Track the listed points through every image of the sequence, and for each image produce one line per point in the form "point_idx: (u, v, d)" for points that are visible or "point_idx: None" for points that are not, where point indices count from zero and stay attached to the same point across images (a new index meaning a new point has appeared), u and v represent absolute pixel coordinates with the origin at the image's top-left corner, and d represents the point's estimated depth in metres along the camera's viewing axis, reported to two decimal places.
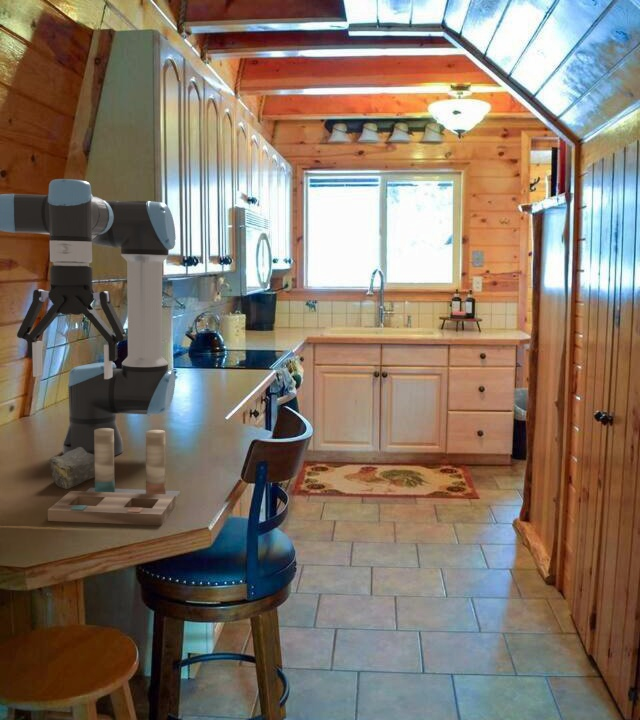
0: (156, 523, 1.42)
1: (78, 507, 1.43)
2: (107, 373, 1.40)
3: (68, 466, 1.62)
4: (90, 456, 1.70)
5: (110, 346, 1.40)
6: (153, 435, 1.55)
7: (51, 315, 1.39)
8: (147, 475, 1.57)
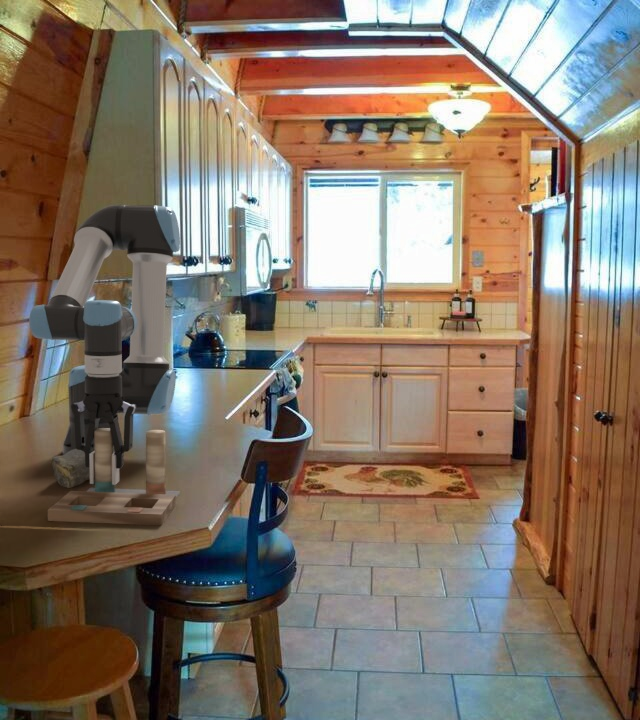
0: (156, 523, 1.42)
1: (78, 507, 1.43)
2: (114, 479, 1.57)
3: (70, 465, 1.63)
4: None
5: (117, 455, 1.57)
6: (153, 435, 1.55)
7: (94, 422, 1.56)
8: (147, 475, 1.57)
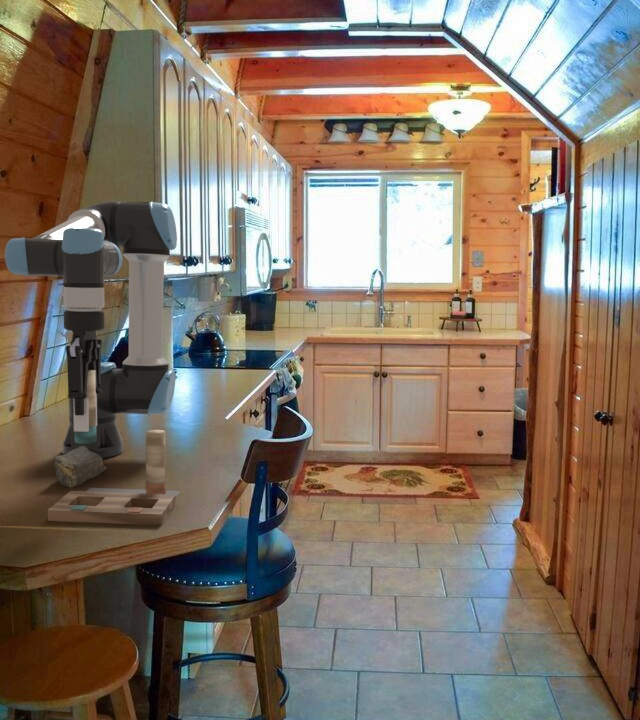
0: (156, 523, 1.42)
1: (78, 507, 1.43)
2: (74, 425, 1.43)
3: (72, 465, 1.63)
4: (93, 455, 1.71)
5: None
6: (153, 435, 1.55)
7: None
8: (147, 475, 1.57)
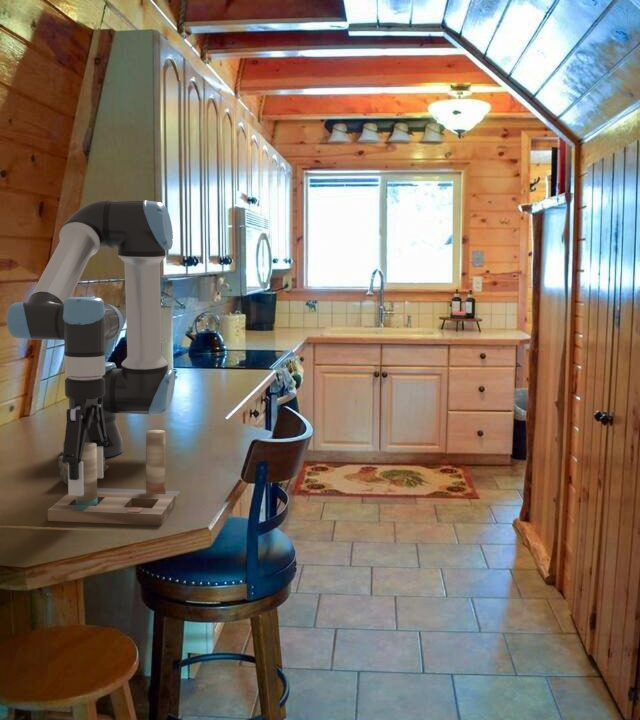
0: (156, 523, 1.42)
1: (78, 507, 1.43)
2: (68, 489, 1.42)
3: None
4: None
5: None
6: (153, 435, 1.55)
7: None
8: (147, 475, 1.57)
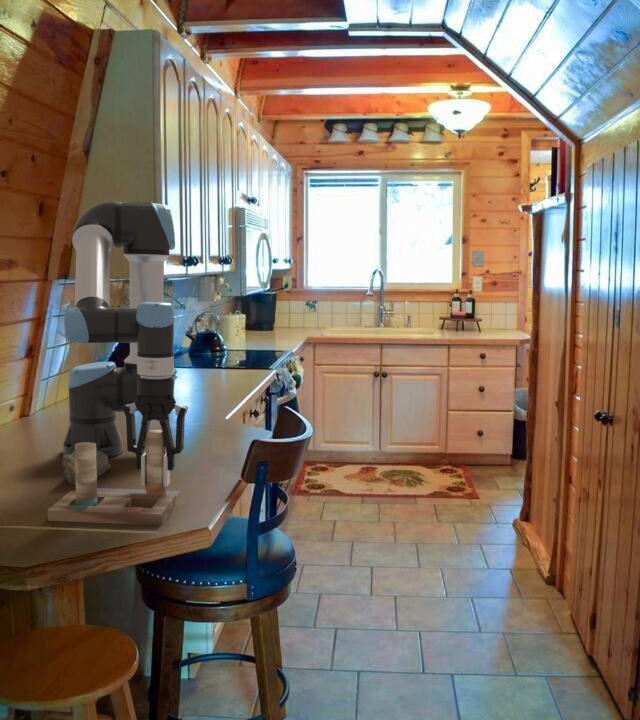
0: (156, 523, 1.42)
1: (78, 507, 1.43)
2: (166, 481, 1.57)
3: None
4: (99, 453, 1.72)
5: (169, 457, 1.57)
6: (153, 435, 1.55)
7: (146, 424, 1.55)
8: (147, 475, 1.57)
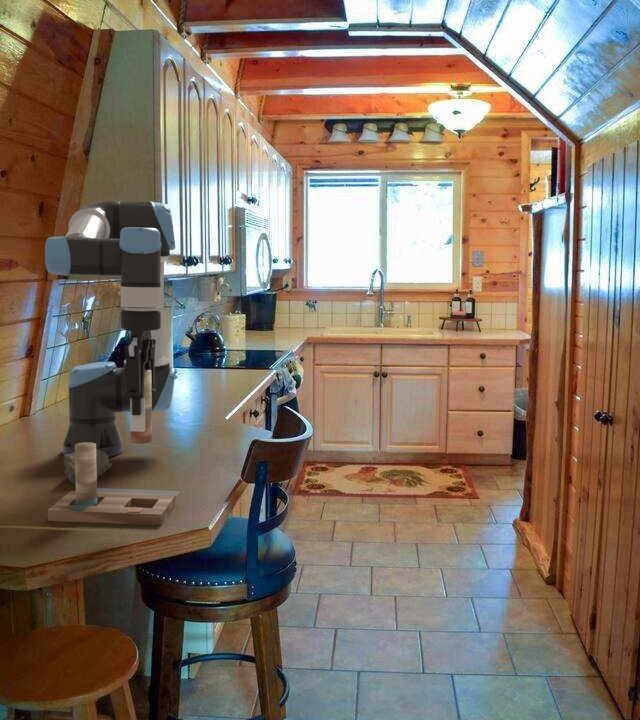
0: (156, 523, 1.42)
1: (78, 507, 1.43)
2: (130, 425, 1.43)
3: None
4: (100, 453, 1.73)
5: None
6: None
7: None
8: None
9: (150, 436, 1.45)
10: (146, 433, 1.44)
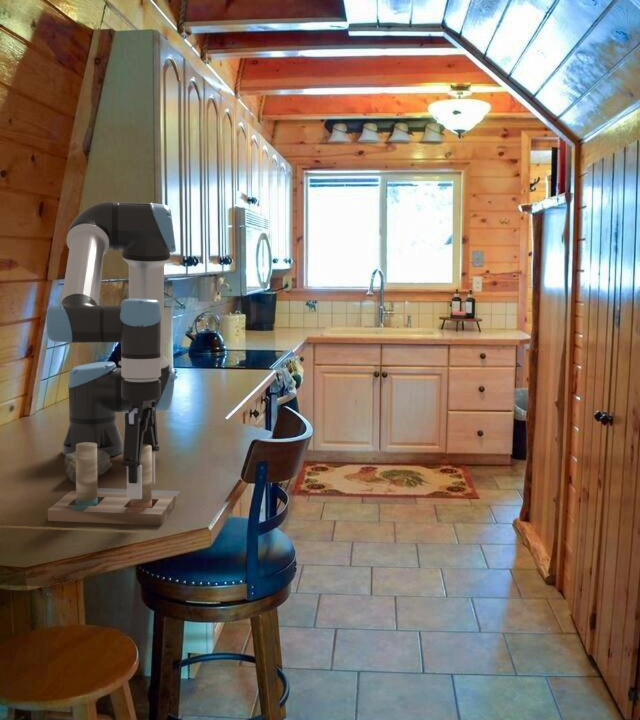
0: (156, 523, 1.42)
1: (78, 507, 1.43)
2: (127, 493, 1.42)
3: None
4: (101, 452, 1.74)
5: None
6: None
7: None
8: None
9: None
10: None
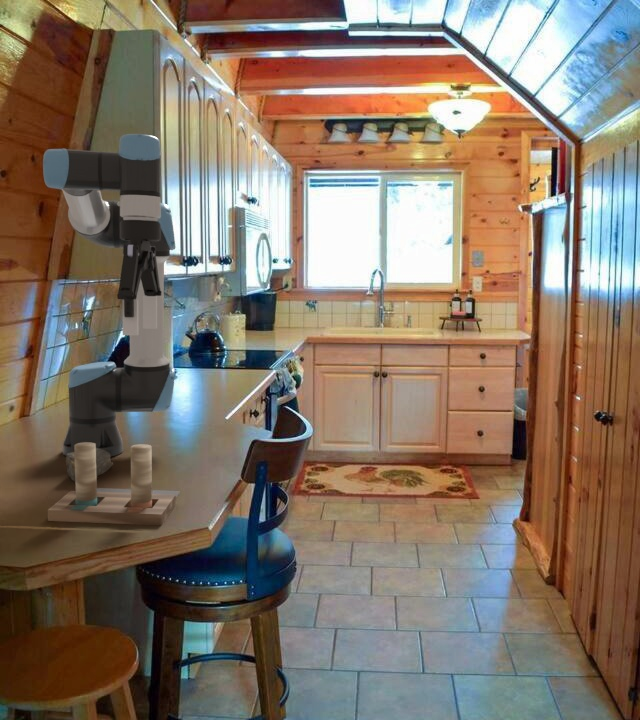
0: (156, 523, 1.42)
1: (78, 507, 1.43)
2: (123, 329, 1.36)
3: None
4: (102, 451, 1.74)
5: None
6: None
7: None
8: None
9: None
10: None
